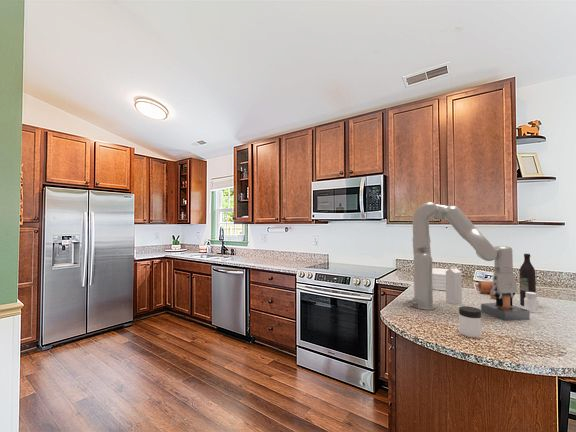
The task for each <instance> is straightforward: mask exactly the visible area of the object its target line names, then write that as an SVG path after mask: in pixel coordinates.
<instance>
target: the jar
mask: <svg viewBox="0 0 576 432" xmlns="http://www.w3.org/2000/svg"><path fill="white" fill-rule="evenodd" d="M482 317H483V315H482V312H481V308H477V307H473V306H469V305H468V306H465V305H463V306H460V307H459V308H458V333H459V334H460V335H463V336H465V337H469V338H477V339H478V338H479V339H481V338H482V336H483V322H482V321H483V318H482Z"/></svg>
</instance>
